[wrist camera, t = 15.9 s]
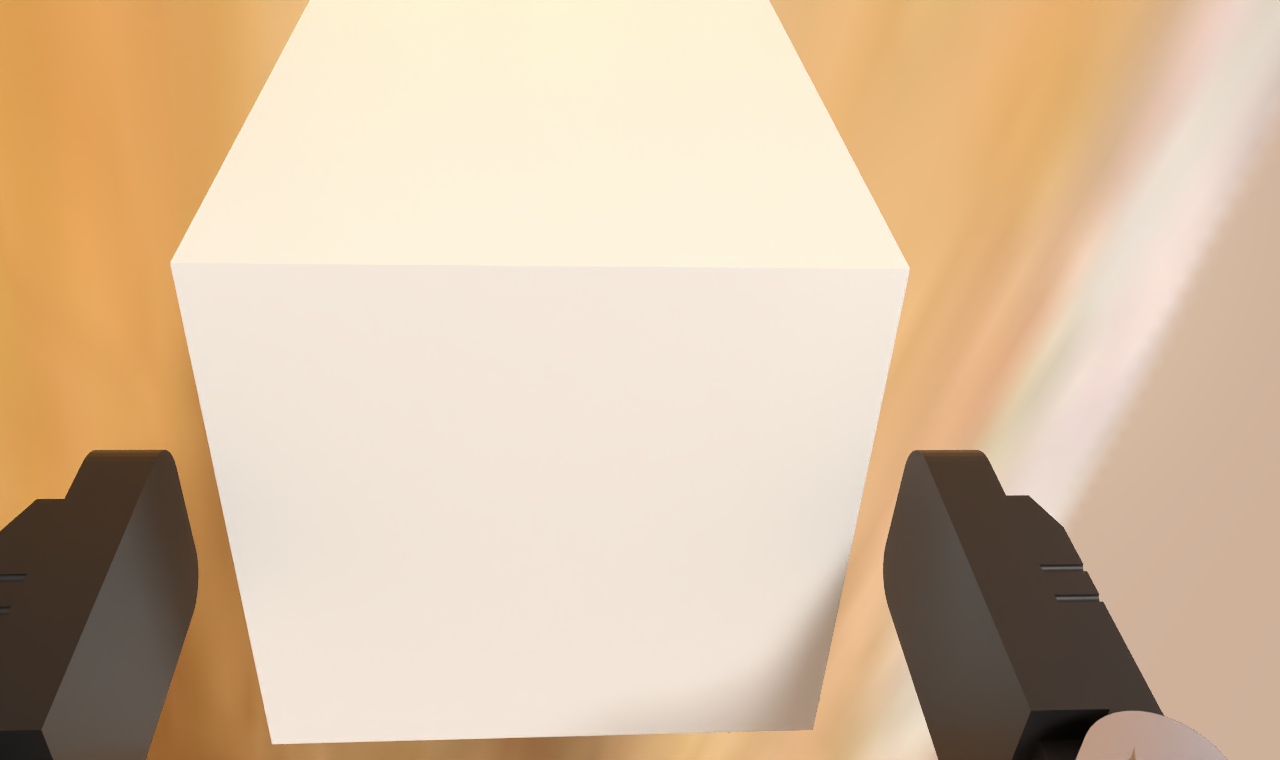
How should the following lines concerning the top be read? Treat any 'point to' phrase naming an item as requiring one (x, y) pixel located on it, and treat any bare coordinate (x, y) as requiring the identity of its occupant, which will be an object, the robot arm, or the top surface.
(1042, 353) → the top surface
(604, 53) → the white block
